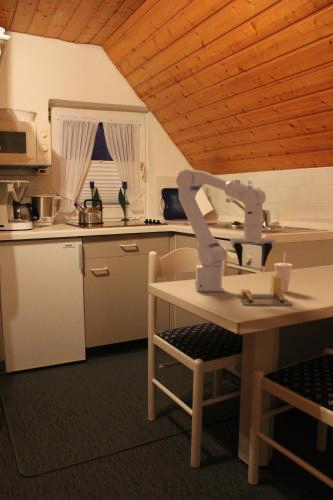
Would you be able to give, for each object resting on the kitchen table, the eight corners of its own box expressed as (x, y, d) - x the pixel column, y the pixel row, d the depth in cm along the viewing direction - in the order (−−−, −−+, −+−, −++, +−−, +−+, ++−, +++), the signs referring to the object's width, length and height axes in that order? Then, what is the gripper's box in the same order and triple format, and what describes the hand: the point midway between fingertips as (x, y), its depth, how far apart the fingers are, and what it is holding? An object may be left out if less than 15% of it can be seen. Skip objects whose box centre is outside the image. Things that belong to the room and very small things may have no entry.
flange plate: (244, 305, 130) (244, 303, 130) (240, 300, 136) (240, 298, 136) (291, 305, 131) (292, 303, 130) (286, 301, 136) (286, 299, 136)
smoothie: (278, 293, 146) (280, 253, 143) (269, 289, 152) (271, 251, 150) (295, 292, 147) (297, 253, 145) (285, 288, 153) (286, 250, 151)
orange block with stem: (277, 301, 133) (278, 281, 132) (270, 294, 142) (271, 275, 141) (286, 301, 133) (287, 281, 132) (277, 294, 142) (278, 275, 141)
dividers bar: (242, 303, 133) (242, 296, 132) (237, 296, 141) (237, 289, 141) (289, 303, 133) (290, 296, 132) (281, 296, 142) (281, 289, 141)
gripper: (233, 226, 135) (232, 267, 137) (278, 226, 135) (276, 267, 137) (229, 224, 142) (228, 264, 144) (272, 224, 142) (270, 264, 144)
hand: (251, 265), depth 141 cm, fingers open, 7 cm apart
